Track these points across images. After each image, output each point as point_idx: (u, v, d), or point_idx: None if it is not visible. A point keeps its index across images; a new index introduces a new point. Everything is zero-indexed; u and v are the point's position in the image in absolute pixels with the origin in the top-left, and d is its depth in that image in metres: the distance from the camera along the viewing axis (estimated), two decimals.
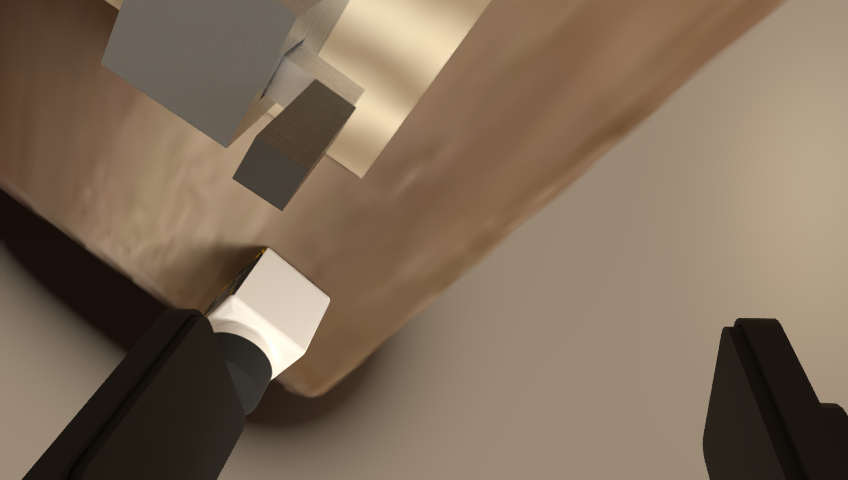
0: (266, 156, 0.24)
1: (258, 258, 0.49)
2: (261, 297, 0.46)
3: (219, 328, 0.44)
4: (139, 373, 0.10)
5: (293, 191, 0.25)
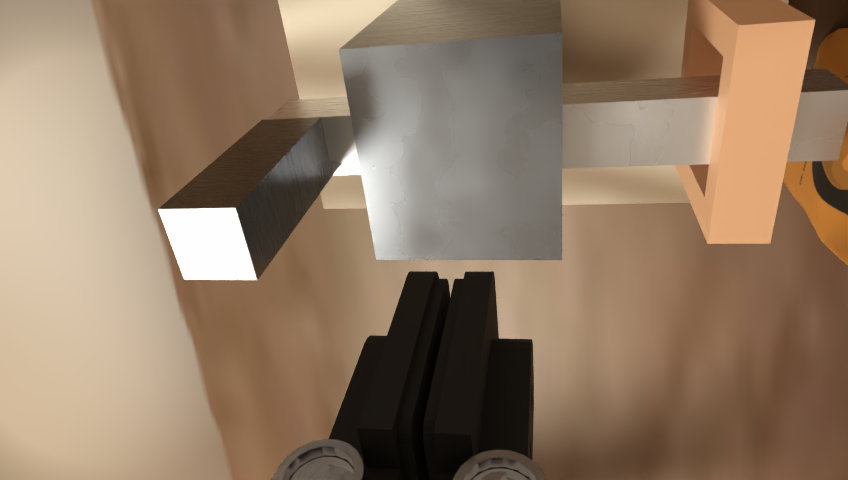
0: (229, 264, 0.18)
1: None
2: None
3: None
4: (417, 329, 0.10)
5: (172, 243, 0.18)
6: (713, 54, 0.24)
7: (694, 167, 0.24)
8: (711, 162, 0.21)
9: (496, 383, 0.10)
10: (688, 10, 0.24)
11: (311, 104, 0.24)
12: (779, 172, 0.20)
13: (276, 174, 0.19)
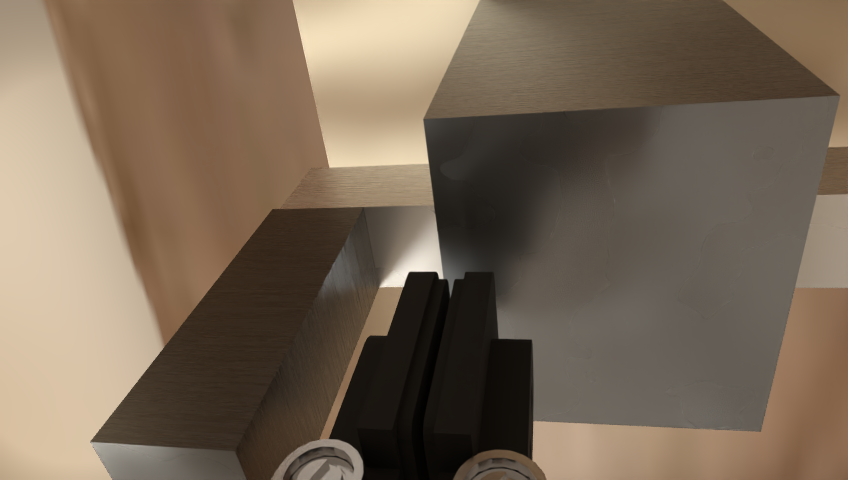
0: None
1: None
2: None
3: None
4: (417, 329, 0.10)
5: None
6: None
7: None
8: None
9: (496, 383, 0.10)
10: None
11: (344, 179, 0.16)
12: None
13: (303, 339, 0.11)
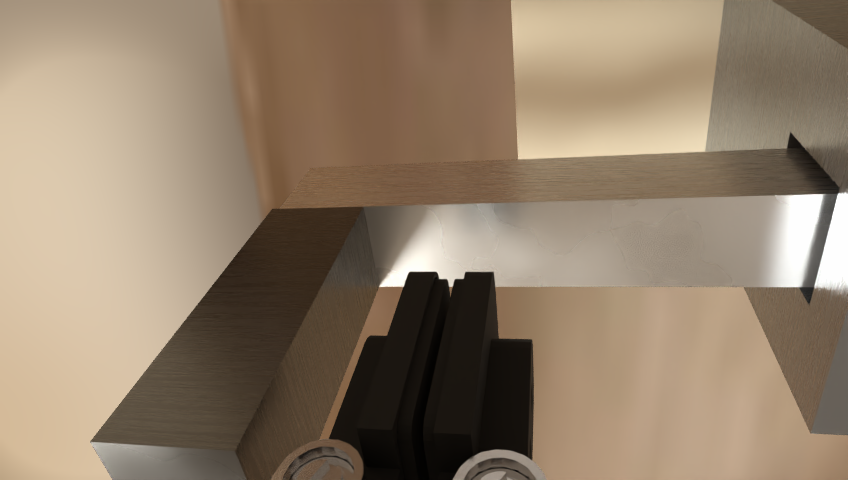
0: None
1: None
2: None
3: None
4: (417, 329, 0.10)
5: None
6: None
7: None
8: None
9: (496, 383, 0.10)
10: None
11: (344, 178, 0.16)
12: None
13: (303, 339, 0.11)
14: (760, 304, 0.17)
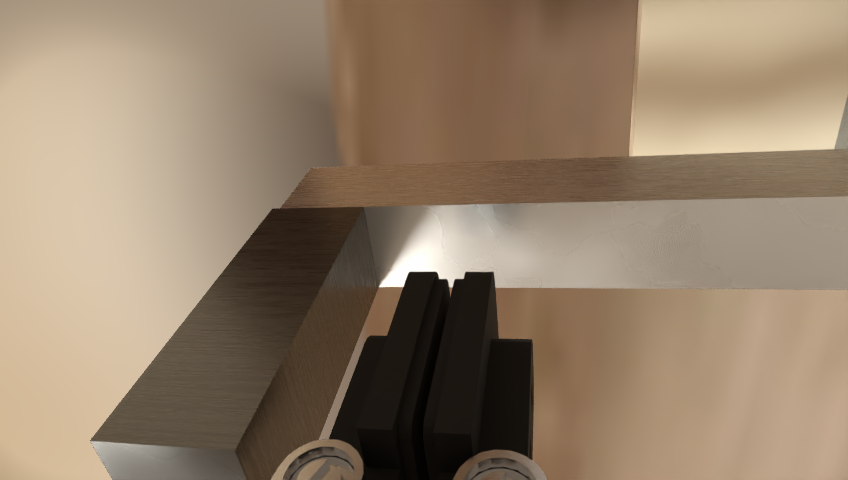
0: None
1: None
2: None
3: None
4: (417, 329, 0.10)
5: None
6: None
7: None
8: None
9: (496, 383, 0.10)
10: None
11: (345, 178, 0.16)
12: None
13: (303, 339, 0.11)
14: None
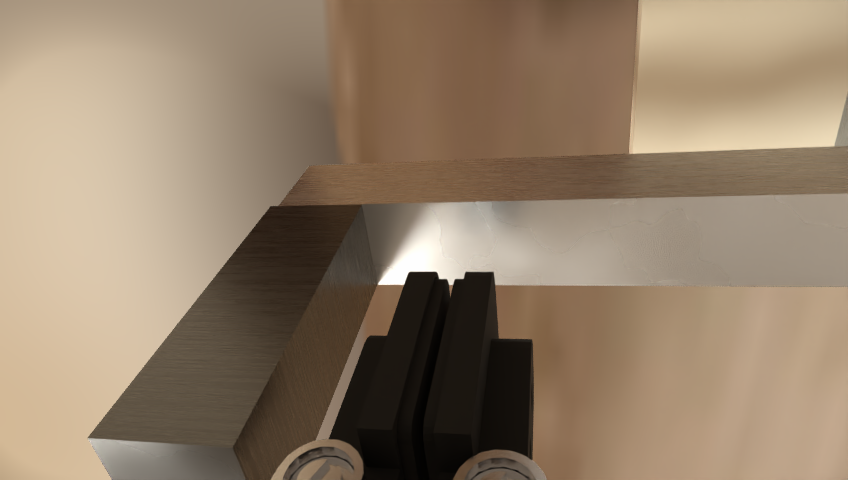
0: None
1: None
2: None
3: None
4: (417, 329, 0.10)
5: None
6: None
7: None
8: None
9: (496, 383, 0.10)
10: None
11: (343, 176, 0.16)
12: None
13: (301, 336, 0.11)
14: None
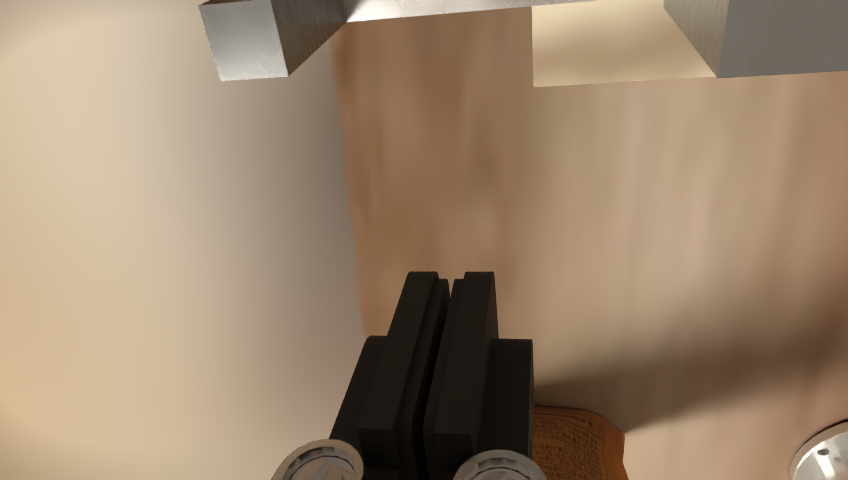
0: (263, 61, 0.20)
1: None
2: None
3: None
4: (417, 329, 0.10)
5: (211, 42, 0.20)
6: None
7: None
8: None
9: (496, 383, 0.10)
10: None
11: None
12: None
13: None
14: (695, 36, 0.26)
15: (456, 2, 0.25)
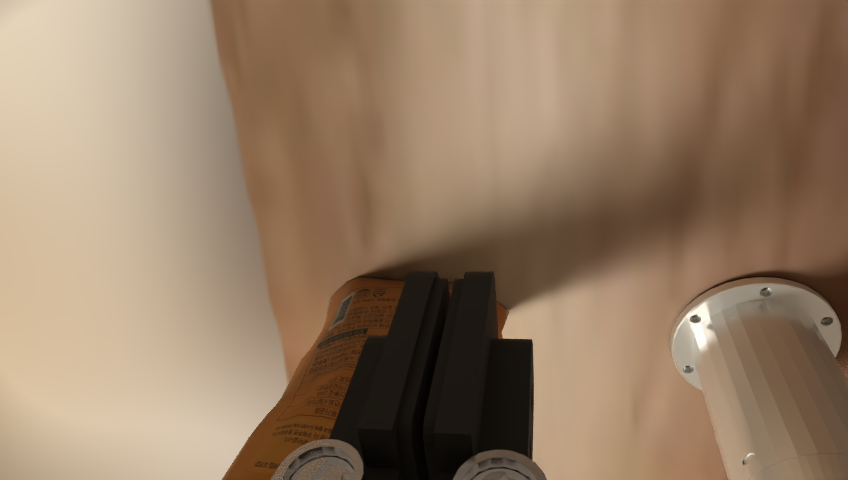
0: None
1: None
2: None
3: None
4: (417, 329, 0.10)
5: None
6: None
7: None
8: None
9: (496, 383, 0.10)
10: None
11: None
12: None
13: None
14: None
15: None
